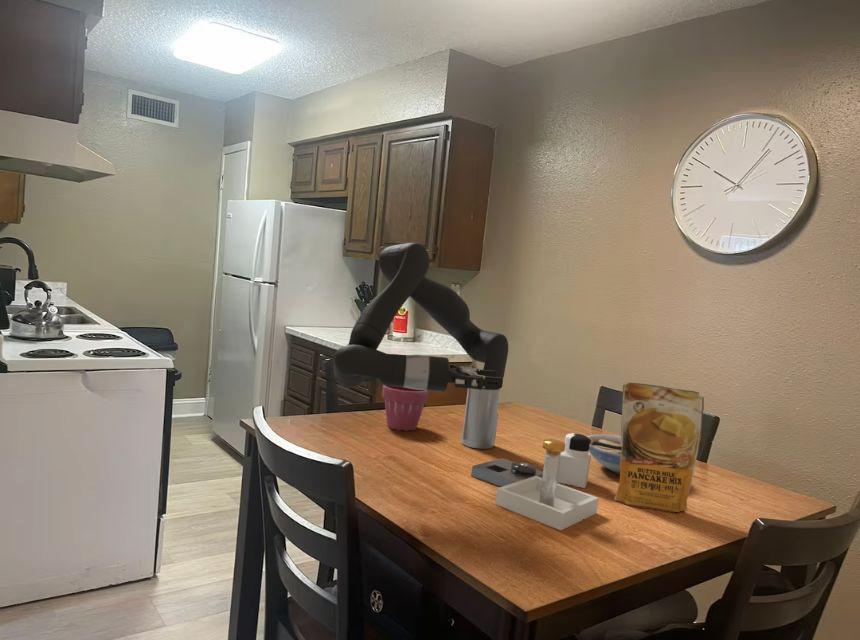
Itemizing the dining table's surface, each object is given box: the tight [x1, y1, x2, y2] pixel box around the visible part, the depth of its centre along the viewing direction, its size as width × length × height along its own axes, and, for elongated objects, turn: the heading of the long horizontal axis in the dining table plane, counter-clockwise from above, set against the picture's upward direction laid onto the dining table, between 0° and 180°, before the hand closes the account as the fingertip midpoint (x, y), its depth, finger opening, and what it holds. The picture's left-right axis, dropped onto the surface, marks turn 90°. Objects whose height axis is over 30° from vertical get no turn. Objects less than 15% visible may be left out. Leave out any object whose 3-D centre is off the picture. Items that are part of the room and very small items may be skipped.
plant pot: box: [381, 385, 430, 432], centre depth 189 cm, size 14×14×13 cm
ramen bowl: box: [586, 434, 622, 475], centre depth 168 cm, size 25×23×8 cm
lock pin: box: [539, 438, 565, 507], centre depth 133 cm, size 5×5×14 cm
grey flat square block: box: [470, 457, 543, 488], centre depth 150 cm, size 13×13×4 cm
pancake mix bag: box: [613, 382, 705, 514], centre depth 143 cm, size 7×19×28 cm, turn 81°
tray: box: [494, 476, 600, 531], centre depth 133 cm, size 16×16×4 cm
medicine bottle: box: [557, 432, 592, 489], centre depth 154 cm, size 7×7×12 cm
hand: (498, 379), depth 135 cm, fingers open, 8 cm apart
